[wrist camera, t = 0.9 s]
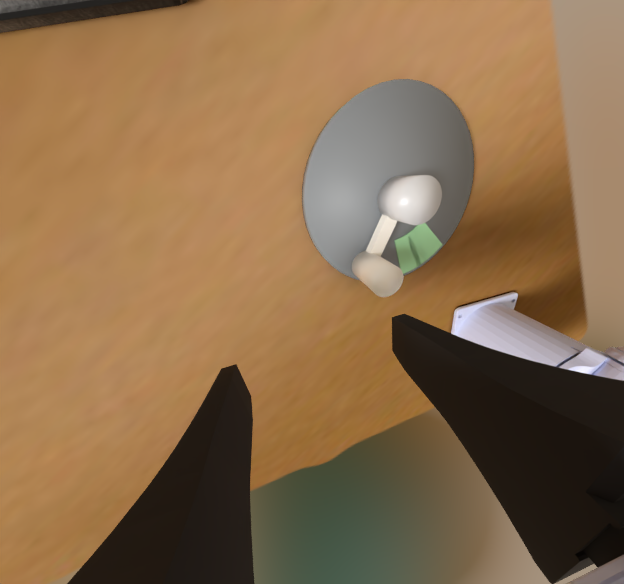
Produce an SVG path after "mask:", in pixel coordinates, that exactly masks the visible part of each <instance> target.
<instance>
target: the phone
mask: <svg viewBox="0 0 624 584" xmlns="http://www.w3.org/2000/svg"><path fill="white" fill-rule="evenodd" d="M187 1H188V0H0V33H2V32H8V31H15V30H21V29H28V28H34V27H41V26H47V25H54V24H60V23H67V22H73V21H80V20H86V19H93V18H99V17H106V16H112V15H119V14H125V13H132V12H138V11H145V10H151V9H157V8H164V7H170V6H177V5H181V4H184V3H186V2H187Z"/></svg>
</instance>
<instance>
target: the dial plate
mask: <svg viewBox="0 0 624 584" xmlns="http://www.w3.org/2000/svg"><path fill="white" fill-rule="evenodd" d="M473 173H474V153H473V144H472V140H471V136H470V132H469V129H468V126H467V124H466V121H465V119H464V117H463V116H462V114H461V112H460V110H459V109H458V107H457V106H456V105H455V104H454V102H453V101H452V100H451V99H450V98H449V97H448V96H447V95H446V94H444V93H443V92H442V91H440V90H439V89H437V88H435V87H434V86H432V85H430V84H427V83H424V82H421V81H416V80H410V79H399V80H391V81H386V82H382V83H379V84H377V85H374V86H372V87H370V88H367V89H366V90H364V91H362V92H361V93H359V94H358V95H356V96H355V97H353V98H352V99H351V100H350V101H349V102H347V103H346V104H345V105H344V106H343V107H342V108H340V109H339V110H338V111H337V112H336V113H335V114H334V116H333V117H332V118H331V119H330V120H329V121H328V122H327V124H326V125H325V127H324V128H323V130H322V131H321V133H320V134H319V136H318V138H317V140H316V142H315V144H314V146H313V148H312V150H311V153H310V155H309V158H308V161H307V165H306V169H305V173H304V178H303V186H302V206H303V215H304V219H305V224H306V227H307V230H308V233H309V235H310V238H311V240H312V241H313V243H314V245H315V247H316V248H317V250H318V251H319V252H320V254H321V255H322V256H323V257H324V258H325V259H326V260H327V261H328V262H329V263H330V264H331V265H332V266H333V267H334V268H335V269H337V270H338V271H339V272H341V273H343V274H345V275H347V276H349V277H351V278H354V279H357V280H360V279H359V278H358V277H357V276H355V275H354V273H353V271H352V262H353V260H354V258H355V257H356V256H357V255H358V254H359V253H361V252H363V251H366V249H367V247H368V245H369V242H370V240H371V238H372V236H373V233H374V231H375V229H376V227H377V225H378V222H379V220H380V218H381V216H382V214H381V213H380V211H379V209H378V204H377V199H378V194H379V191H380V189H381V187H382V186H383V185H384V183H385V182H386V181H388V180H389V179H391V178H393V177H396V176H415V175H430V176H433V177H434V178H436V179H437V180H438V182H439V183H440V186H441V189H442V199H441V203H440V206H439V208H438V210H437V212H436V213H435V215H434V216H433V217H432V218H431V219H430V220H429V221H427V222H425V223H423V224H421V225H411V224H407V223H403V222H400V221H397V223H396V225H395V227H394V230H393V232H392V234H391V236H390V238H389V240H388V242H387V244H386V246H385V248H384V250H383V253H382V255H381V257H382V258H384V259H385V260H387V261H389V262H391V263H392V264H394V265H396V266H397V267H399V268H400V269H401V270H402V272H403V276H405V275H407V274H409V273H411V272H413V271H415V270H416V269H418V268H420V267H421V266H422V265H424V264H425V263H427V262H428V261H429V260H430V259H431V258H432V257H433V256H435V255H436V254H437V253H438V252H439V250H440V249H441V248H442V247H443V246H444V245H445V244H446V242H447V241H448V240H449V238H450V237H451V235H452V234H453V232H454V231H455V229H456V228H457V226H458V224H459V222H460V220H461V218H462V216H463V213H464V211H465V208H466V206H467V203H468V199H469V196H470V192H471V187H472V182H473Z"/></svg>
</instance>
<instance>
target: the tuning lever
mask: <svg viewBox="0 0 624 584" xmlns="http://www.w3.org/2000/svg"><path fill="white" fill-rule="evenodd" d="M441 199H442V189H441V186H440V183H439V182H438V180H437V179H436V178H434V177H433V176H430V175H415V176H396V177H393V178H391V179H389V180H388V181H386V182H385V183H384V185H383V186H382V187H381V189H380V191H379V194H378V199H377V204H378V209H379V211H380V213H381V214H382V216H381V218H380V220H379V222H378V225H377V227H376V229H375V231H374V233H373V236H372V238H371V240H370V242H369V245H368V247H367V249H366V251H363V252H361V253H359V254H358V255H357V256H356V257H355V258H354V260H353V262H352V271H353V273H354V275H355V276H357V277H358V278H359V279H360V280H361V281H362V282H363V283H364V284H365V285H366V286H367V287H368V288H369V289H371V290H372V291H373V292H374V293H375V294H376V295H378V296H380V297H388V296H391V295H393V294H394V293H395V292H397V291H398V290H399V288H400V287H401V285H402V283H403V272H402V270H401V269H400V268H399V267H397V266H396V265H394V264H392V263H391V262H389V261H387V260H385V259H384V258H382V257H381V255H382V253H383V250H384V248H385V246H386V244H387V242H388V240H389V238H390V236H391V234H392V232H393V230H394V227H395V225H396V223H397V221H400V222H403V223H407V224H411V225H421V224H423V223H425V222H427V221H429V220H430V219H431V218H432V217H433V216H434V215H435V213H436V212H437V210H438V208H439V206H440V203H441Z"/></svg>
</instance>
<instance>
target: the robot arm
mask: <svg viewBox="0 0 624 584" xmlns="http://www.w3.org/2000/svg"><path fill="white" fill-rule="evenodd" d="M517 297H518V294H517V293H515V292H511V293H507V294H504V295H500V296H497V297H493V298H490V299H486V300H483V301H479V302H476V303H472V304H469V305H466V306H462V307H459V308H457V309H456V310H455V312H454V319H453V325H452V331H451V333H448V332H446V331H444V330H441V329H439V328H437V327H434V326H432V325H430V324H427V323H425V322H423V321H420V320H418V319H416V318H413V317H411V316H408V315H406V314H402V315H398V316H395V317H392V349H393V352H394V354H395V356H396V357H397V359H398V360H399V362H400V363H401V365H402V367H403V368H404V370H405V371H406V372H407V373H408V375H409V376H410V377H411V378H412V379H413V381H414V382H415V383H416V384H417V386H418V387H419V388H420V389H421V390H422V392H423V393H424V394H425V395H426V396H427V398H428V399H429V400H430V401H431V403H432V404H433V405H434V406H435V407H436V409H437V410H438V411H439V412H440V413H441V415H442V416H443V417H444V418H445V420H446V421H447V423H448V424H449V425H450V427H451V428H452V430H453V431H454V433H455V434H456V436H457V437H458V438H459V440H460V441H461V443H462V444H463V446H464V447H465V449H466V450H467V452H468V453H469V455H470V456H471V458H472V459H473V461H474V462H475V464H476V466H477V467H478V469H479V470H480V472H481V473H482V475H483V476H484V478H485V479H486V481H487V483H488V484H489V486H490V487H491V489H492V490H493V492H494V494H495V495H496V497H497V499H498V500H499V502H500V503H501V505H502V507H503V508H504V510H505V511H506V513H507V515H508V517H509V518H510V520H511V522H512V524H513V525H514V527H515V529H516V530H517V532H518V534H519V535H520V537H521V539H522V540H523V542H524V544H525V546H526V547H527V549H528V551H529V553H530V554H531V556H532V558H533V560H534V561H535V563H536V564H537V566H538V567H539V568H540V570H541V571H542V572H543V574H544V575H545V576H546V578H547V579H548V580H549V582H550V583H552V584H554V583H556V582H558V581H560V580H562V579H564V578H566V577H568V576H570V575H572V574H574V573H576V572H578V571H580V570H582V569H584V568H586V567H588V566H590V565H592V564H595V565H596V566H597V567H598V568H596V569H594V570H592V571H590V572H588V573H586V574H585V575H583V576H581V577H579V578H577V579H575V580H573V581H571V582H569V583H567V584H624V347H617V348H616V347H609V348H607V349H606V350H605V352H601V351H598V350H595V349H593V348H591V347H589V346H586V345H585V344H582V343H580V342H578V341H576V340H574V339H572V338H570V337H568V336H566V335H564V334H562V333H560V332H558V331H556V330H554V329H552V328H550V327H548V326H546V325H544V324H542V323H540V322H538V321H536V320H534V319H532V318H530V317H527V316H525V315H523V314H521V313H519V312H517V311H515V310H514V307H515V304H516V301H517ZM252 426H253V417H252V403H251V395H250V393H249V391H248V389H247V386H246V384H245V382H244V380H243V378H242V376H241V374H240V371H239V369H238V367H237V365H232V366H229V367H226V368H222V369H221V371H220V372H219V374H218V376H217V378H216V380H215V381H214V383H213V385H212V387H211V389H210V391H209V392H208V394H207V396H206V398H205V400H204V401H203V403H202V405H201V407H200V408H199V410H198V412H197V414H196V415H195V417H194V419H193V420H192V422H191V424H190V425H189V427H188V429H187V430H186V432H185V433H184V435H183V436H182V438H181V440H180V441H179V443H178V444H177V446H176V447H175V449H174V450H173V452H172V453H171V455H170V456H169V458H168V459H167V461H166V462H165V464H164V465H163V467H162V468H161V469H160V471H159V472H158V473H157V475H156V476H155V478H154V479H153V480H152V482H151V483H150V484H149V486H148V487H147V488H146V490H145V491H144V492H143V493H142V495H141V496H140V497H139V499H138V500H137V501H136V502H135V504H134V505H133V506H132V507H131V509H130V510H129V511H128V512H127V514H126V515H125V516H124V517H123V519H122V520H121V521H120V523H119V524H118V525H117V526H116V528H115V529H114V530H113V531H112V532H111V534H110V535H109V536H108V537H107V538H106V540H105V541H104V542H103V543H102V544H101V545H100V547H99V548H98V549H97V550H96V551H95V553H94V554H93V555H92V556H91V557H90V558H89V560H88V561H87V562H86V563H85V564H84V565H83V566H82V568H81V569H80V570H79V571H78V572H77V573H76V575H75V576H74V577H73V578H72V579H71V580H70V581H69V582H68V584H254V573H253V556H252V537H251V514H250V471H251V449H252Z"/></svg>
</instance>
